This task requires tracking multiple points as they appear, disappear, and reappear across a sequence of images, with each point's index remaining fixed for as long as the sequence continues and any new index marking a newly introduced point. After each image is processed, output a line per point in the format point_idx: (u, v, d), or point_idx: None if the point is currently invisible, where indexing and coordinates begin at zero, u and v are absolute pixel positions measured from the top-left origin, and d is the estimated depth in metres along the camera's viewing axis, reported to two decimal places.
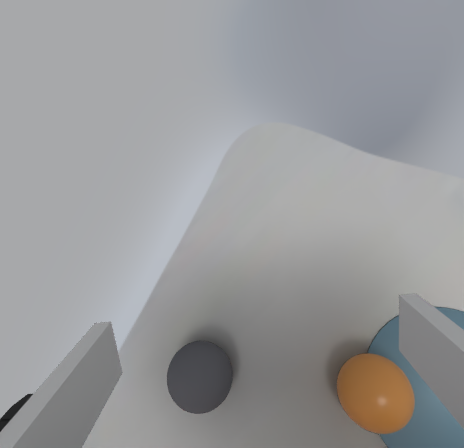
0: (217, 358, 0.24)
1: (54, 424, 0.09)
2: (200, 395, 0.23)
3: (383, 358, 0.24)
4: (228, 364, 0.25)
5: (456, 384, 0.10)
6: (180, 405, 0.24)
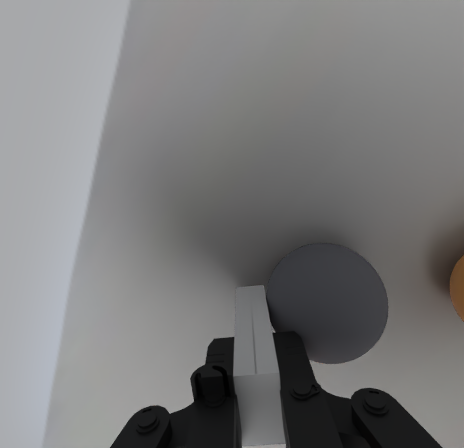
0: None
1: None
2: None
3: None
4: None
5: None
6: (357, 357, 0.13)
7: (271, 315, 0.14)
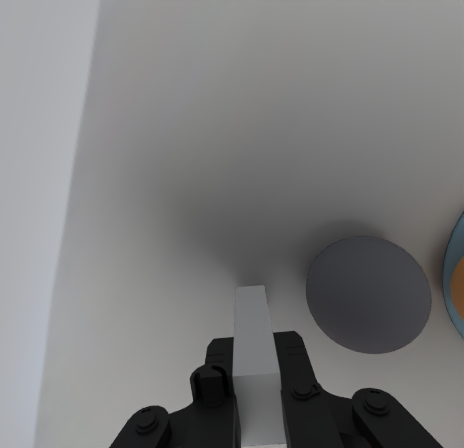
0: None
1: None
2: None
3: None
4: None
5: None
6: None
7: (396, 313, 0.12)
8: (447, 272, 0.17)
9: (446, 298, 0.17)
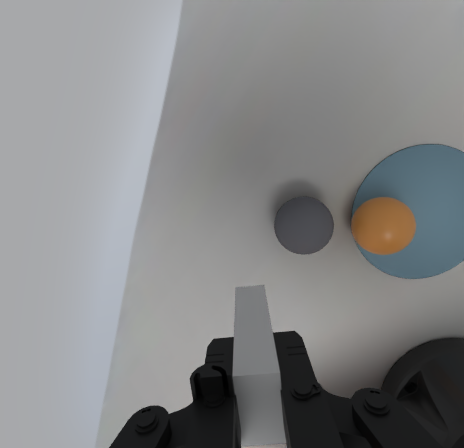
0: None
1: None
2: None
3: (395, 199, 0.28)
4: None
5: None
6: None
7: (312, 228, 0.26)
8: None
9: None
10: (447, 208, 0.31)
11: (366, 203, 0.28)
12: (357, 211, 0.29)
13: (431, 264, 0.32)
